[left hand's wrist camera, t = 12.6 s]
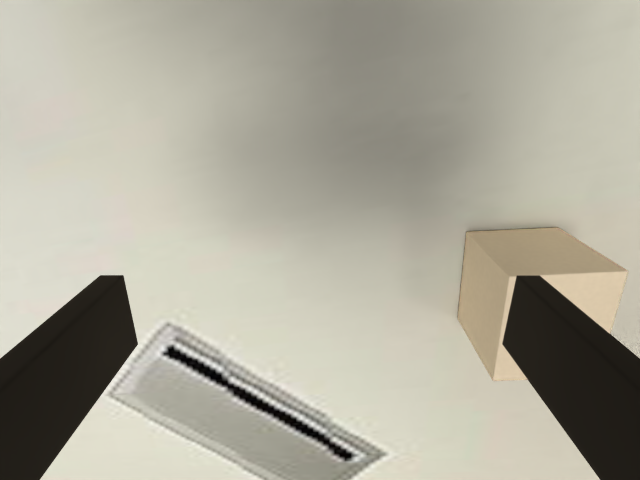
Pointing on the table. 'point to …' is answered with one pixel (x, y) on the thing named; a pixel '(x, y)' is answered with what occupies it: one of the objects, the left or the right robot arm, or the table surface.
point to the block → (529, 259)
